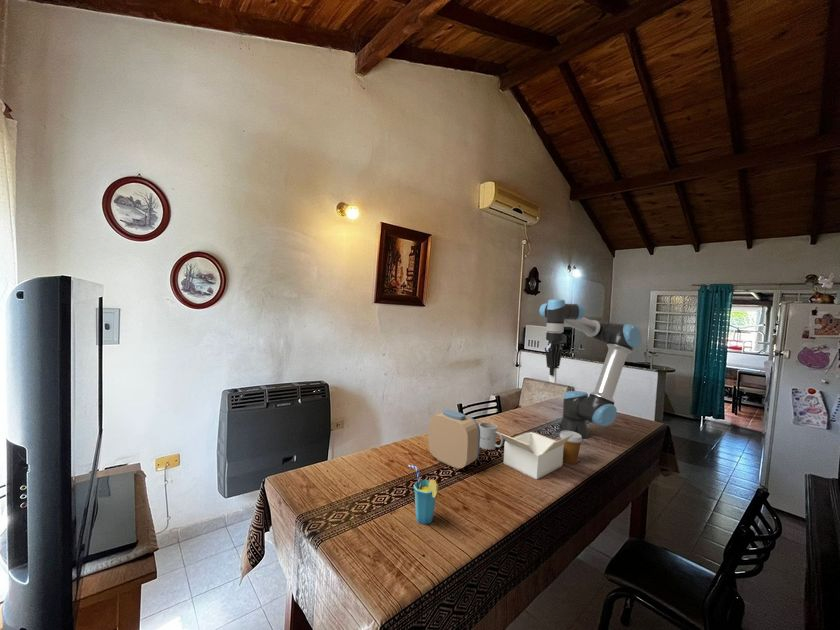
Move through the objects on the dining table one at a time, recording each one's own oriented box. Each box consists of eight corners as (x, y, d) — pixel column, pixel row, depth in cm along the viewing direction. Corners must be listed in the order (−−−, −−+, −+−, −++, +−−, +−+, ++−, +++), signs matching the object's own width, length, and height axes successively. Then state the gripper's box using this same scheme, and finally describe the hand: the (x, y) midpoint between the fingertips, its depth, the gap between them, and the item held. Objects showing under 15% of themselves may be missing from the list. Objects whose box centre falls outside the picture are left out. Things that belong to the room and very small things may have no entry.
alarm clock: (479, 467, 139) (481, 416, 138) (465, 475, 132) (468, 422, 131) (441, 450, 153) (443, 404, 152) (427, 457, 146) (429, 408, 145)
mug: (474, 444, 162) (475, 424, 162) (485, 440, 167) (486, 421, 167) (494, 454, 152) (495, 432, 152) (505, 449, 158) (507, 429, 157)
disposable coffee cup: (583, 466, 144) (585, 439, 144) (560, 463, 146) (561, 436, 146) (577, 457, 154) (579, 431, 153) (555, 454, 155) (557, 429, 155)
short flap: (501, 433, 139) (500, 433, 139) (528, 444, 129) (527, 445, 129) (507, 441, 142) (506, 442, 142) (534, 452, 132) (533, 453, 132)
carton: (529, 451, 157) (530, 430, 157) (563, 465, 144) (564, 443, 144) (502, 462, 144) (503, 440, 144) (536, 479, 132) (538, 455, 131)
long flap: (572, 434, 138) (572, 435, 138) (561, 444, 142) (562, 444, 142) (552, 442, 129) (553, 443, 129) (542, 453, 132) (543, 453, 132)
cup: (398, 512, 107) (400, 466, 107) (415, 502, 113) (417, 459, 112) (430, 534, 97) (432, 484, 97) (447, 523, 103) (449, 475, 102)
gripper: (554, 330, 163) (552, 378, 164) (540, 332, 155) (537, 382, 156) (569, 332, 157) (567, 381, 158) (555, 333, 149) (552, 385, 150)
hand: (552, 381), depth 157 cm, fingers closed
